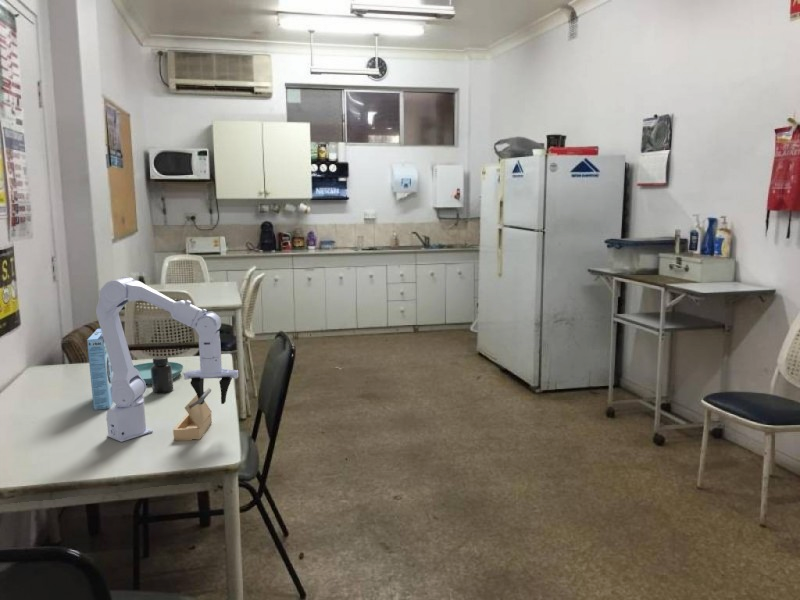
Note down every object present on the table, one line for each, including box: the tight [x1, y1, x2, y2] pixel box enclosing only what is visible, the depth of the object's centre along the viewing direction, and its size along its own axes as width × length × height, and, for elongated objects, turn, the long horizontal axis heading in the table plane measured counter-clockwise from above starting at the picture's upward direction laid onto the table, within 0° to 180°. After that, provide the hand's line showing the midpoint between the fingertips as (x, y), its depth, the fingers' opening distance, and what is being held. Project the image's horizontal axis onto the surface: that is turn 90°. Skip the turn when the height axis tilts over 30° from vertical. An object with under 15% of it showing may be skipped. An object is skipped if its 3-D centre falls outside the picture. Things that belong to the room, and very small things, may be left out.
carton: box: [172, 413, 213, 442], centre depth 172 cm, size 7×13×3 cm, turn 3°
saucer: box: [133, 361, 184, 385], centre depth 229 cm, size 24×24×3 cm
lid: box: [184, 388, 212, 428], centre depth 171 cm, size 7×13×4 cm
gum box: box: [86, 328, 114, 411], centre depth 200 cm, size 20×5×23 cm, turn 17°
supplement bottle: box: [151, 355, 174, 395], centre depth 210 cm, size 7×7×12 cm
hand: (213, 403), depth 171 cm, fingers open, 5 cm apart
